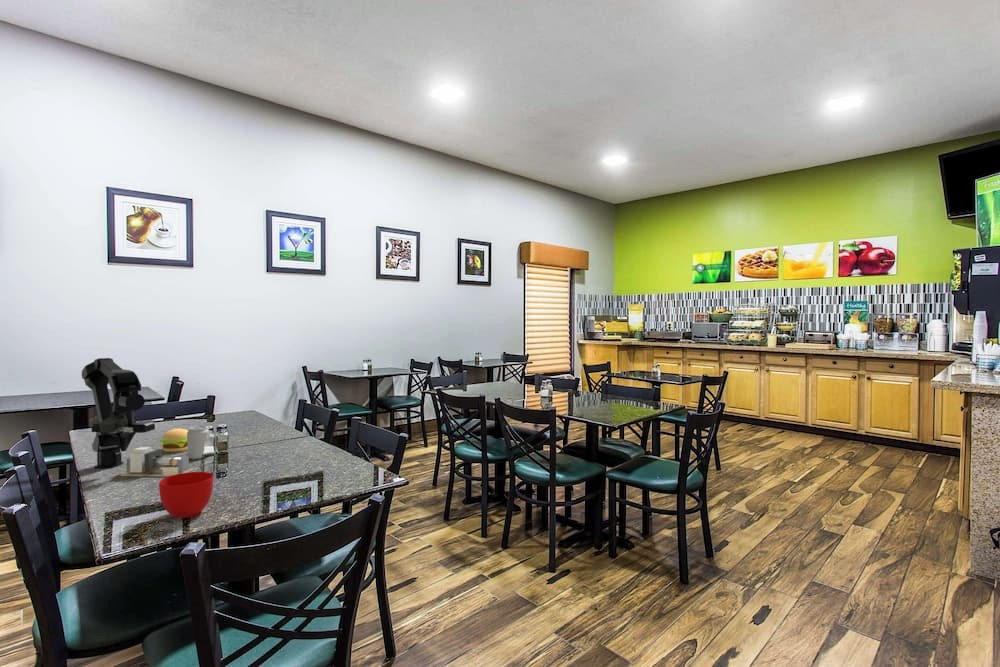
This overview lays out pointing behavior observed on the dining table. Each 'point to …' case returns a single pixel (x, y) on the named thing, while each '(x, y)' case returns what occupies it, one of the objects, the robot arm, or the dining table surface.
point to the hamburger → (174, 440)
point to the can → (196, 441)
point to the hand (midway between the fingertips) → (123, 451)
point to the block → (149, 460)
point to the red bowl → (186, 493)
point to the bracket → (138, 459)
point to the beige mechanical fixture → (163, 471)
